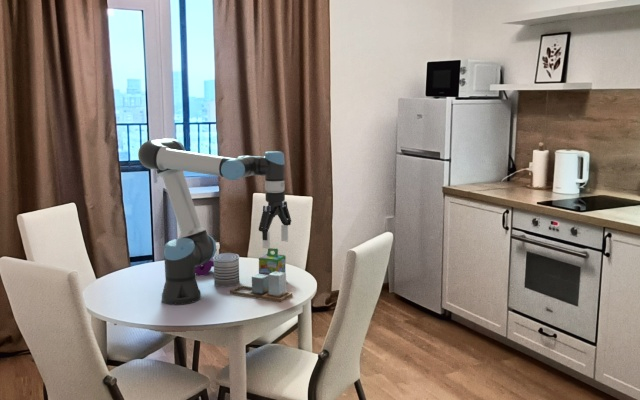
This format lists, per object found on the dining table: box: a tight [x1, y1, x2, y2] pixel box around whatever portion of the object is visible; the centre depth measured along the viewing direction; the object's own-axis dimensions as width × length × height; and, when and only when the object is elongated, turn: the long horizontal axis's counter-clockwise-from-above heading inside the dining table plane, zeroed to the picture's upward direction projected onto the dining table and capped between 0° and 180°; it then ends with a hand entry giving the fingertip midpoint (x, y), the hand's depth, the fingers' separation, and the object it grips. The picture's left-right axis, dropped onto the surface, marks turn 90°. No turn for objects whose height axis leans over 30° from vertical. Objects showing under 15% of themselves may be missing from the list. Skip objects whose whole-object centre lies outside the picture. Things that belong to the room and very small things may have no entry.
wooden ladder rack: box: [229, 284, 293, 303], centre depth 248 cm, size 9×25×1 cm, turn 62°
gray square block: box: [251, 273, 269, 296], centre depth 248 cm, size 5×5×8 cm
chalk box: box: [258, 247, 287, 275], centre depth 265 cm, size 9×9×15 cm
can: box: [213, 252, 240, 288], centre depth 265 cm, size 11×11×12 cm
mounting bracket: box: [195, 258, 214, 277], centre depth 282 cm, size 10×8×18 cm
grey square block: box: [268, 271, 287, 298], centre depth 244 cm, size 5×5×10 cm
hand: (275, 244), depth 242 cm, fingers open, 13 cm apart
